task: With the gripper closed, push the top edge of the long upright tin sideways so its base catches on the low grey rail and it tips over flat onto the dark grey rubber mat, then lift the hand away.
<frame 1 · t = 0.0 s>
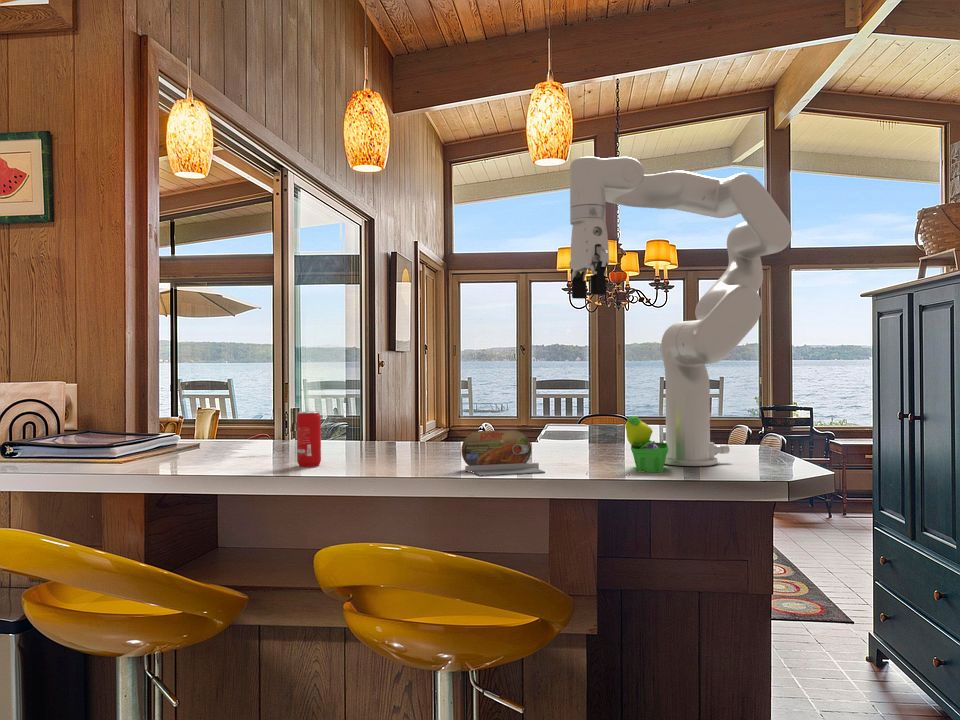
hand: (588, 296, 165), 37 cm above the worktop, tool pointing down, fingers open, 9 cm apart
tin: (496, 470, 165), on the worktop
beverage can: (309, 466, 172), on the worktop
mat: (507, 472, 160), on the worktop
fruit basket: (646, 470, 164), on the worktop
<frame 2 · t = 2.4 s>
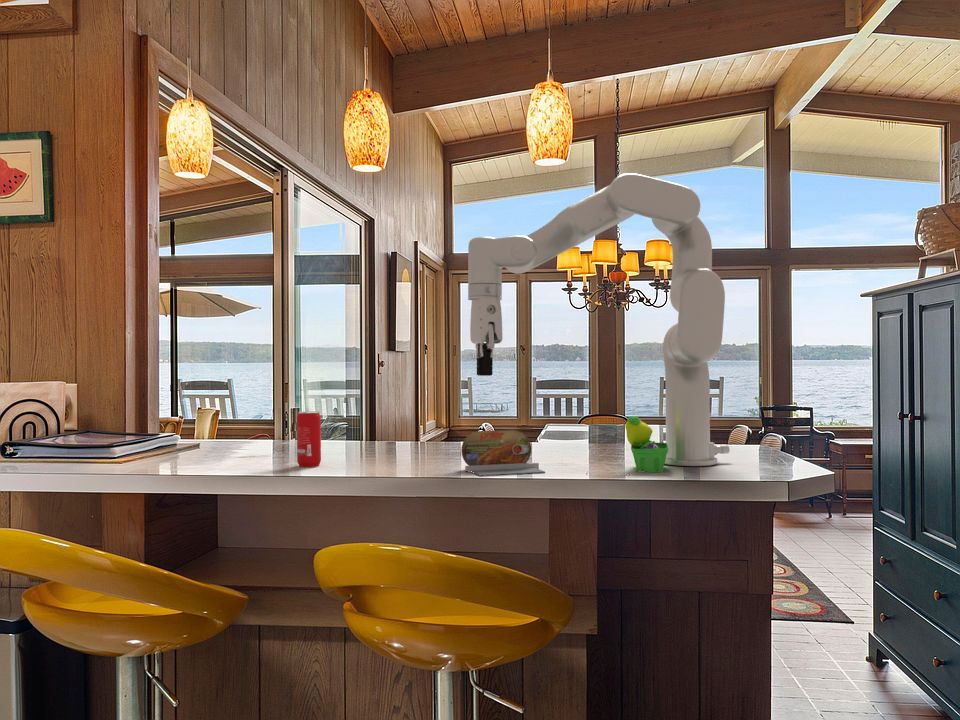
hand: (484, 375, 172), 20 cm above the worktop, tool pointing down, fingers closed
nothing on the worktop moved.
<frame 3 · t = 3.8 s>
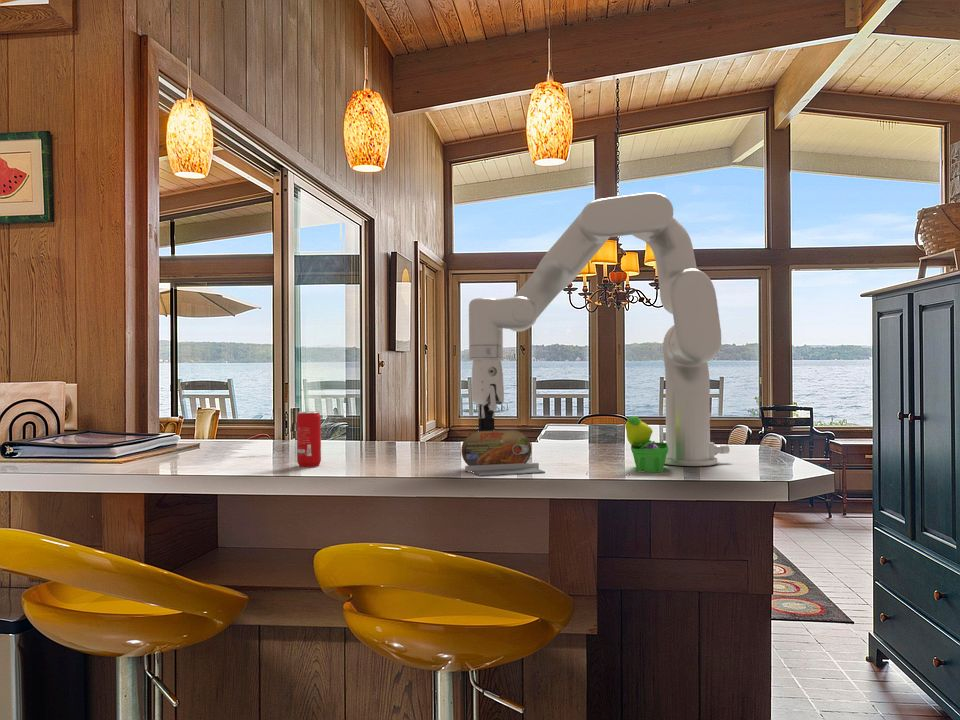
hand: (486, 435, 172), 6 cm above the worktop, tool pointing down, fingers closed
nothing on the worktop moved.
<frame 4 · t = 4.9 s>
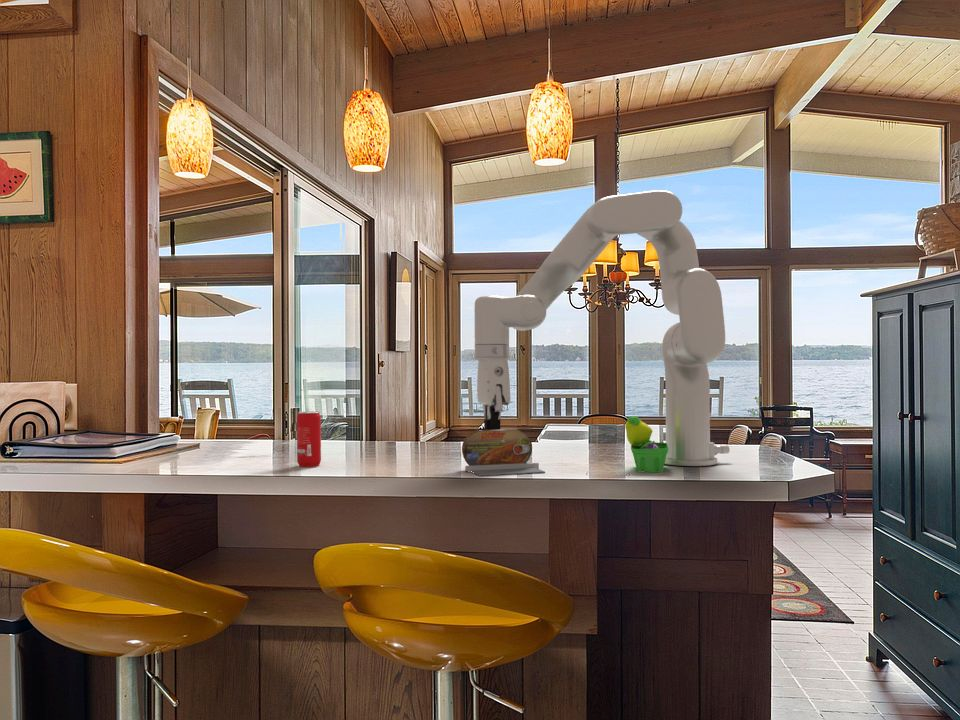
hand: (492, 437, 168), 6 cm above the worktop, tool pointing down, fingers closed
tin: (496, 468, 165), on the worktop, touching gripper
everything else where it was.
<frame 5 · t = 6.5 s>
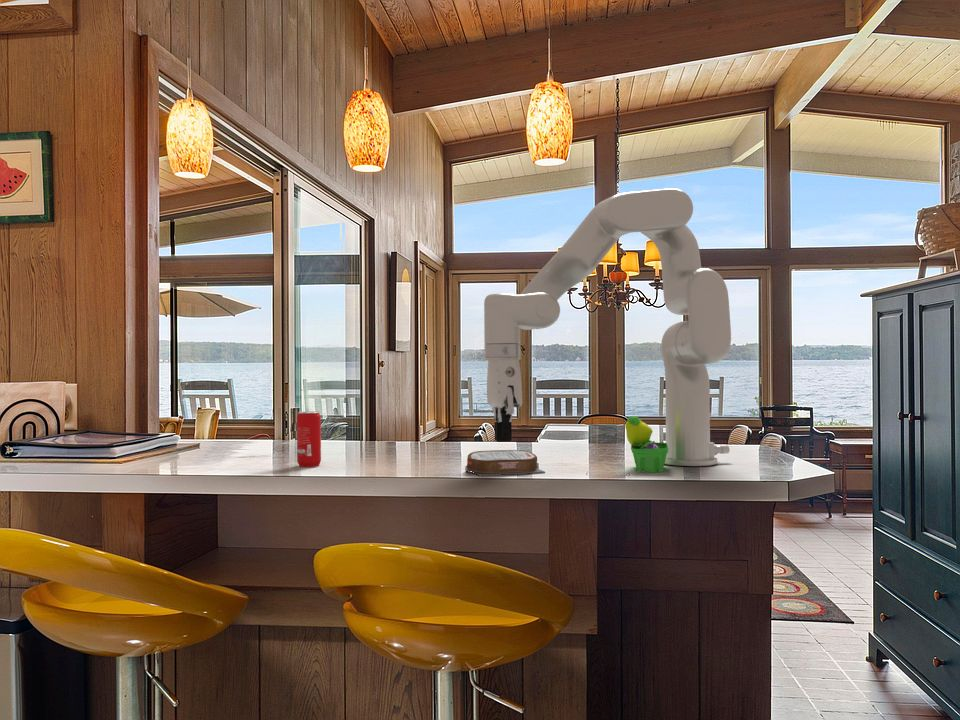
hand: (503, 441, 161), 6 cm above the worktop, tool pointing down, fingers closed
tin: (496, 454, 165), point 3 cm above the worktop, touching mat
everything else where it was.
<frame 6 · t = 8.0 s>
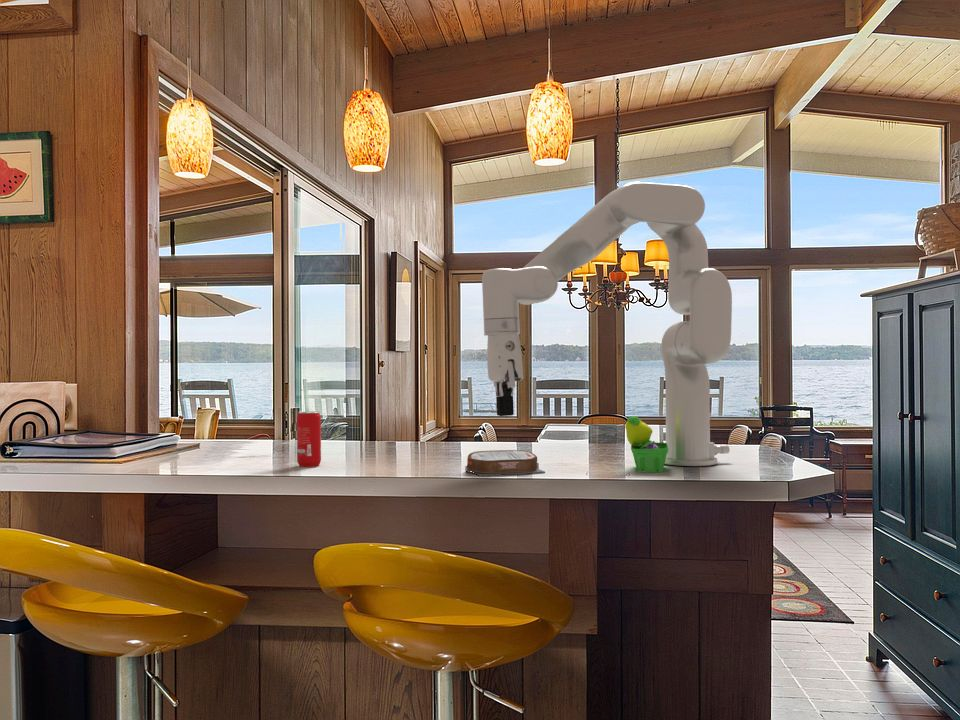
hand: (505, 415, 162), 12 cm above the worktop, tool pointing down, fingers closed
nothing on the worktop moved.
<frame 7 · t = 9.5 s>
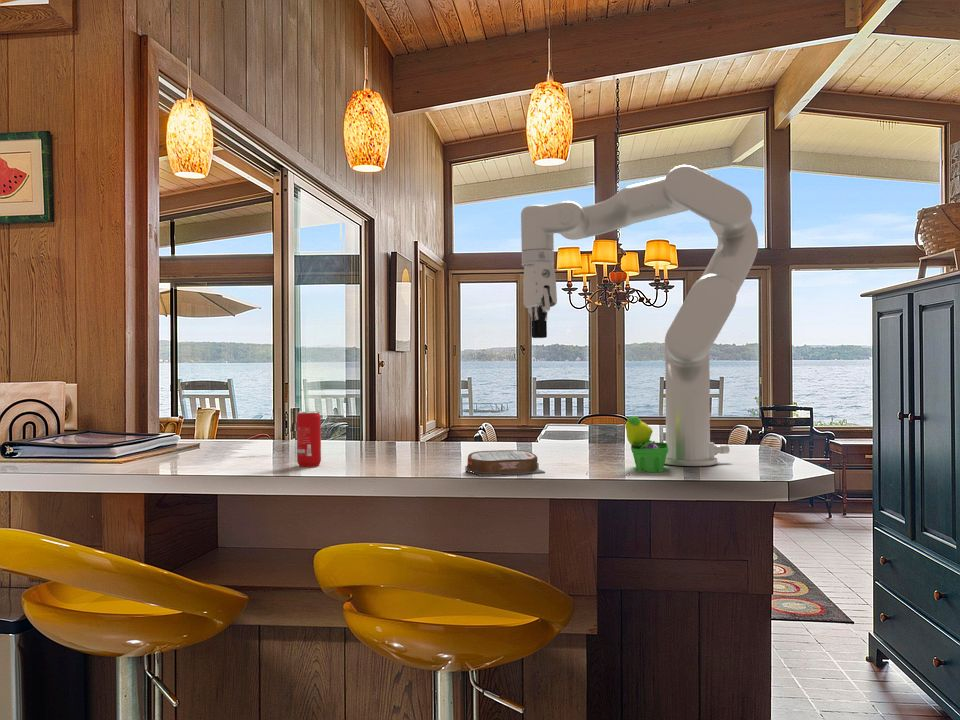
hand: (539, 337, 180), 28 cm above the worktop, tool pointing down, fingers closed
nothing on the worktop moved.
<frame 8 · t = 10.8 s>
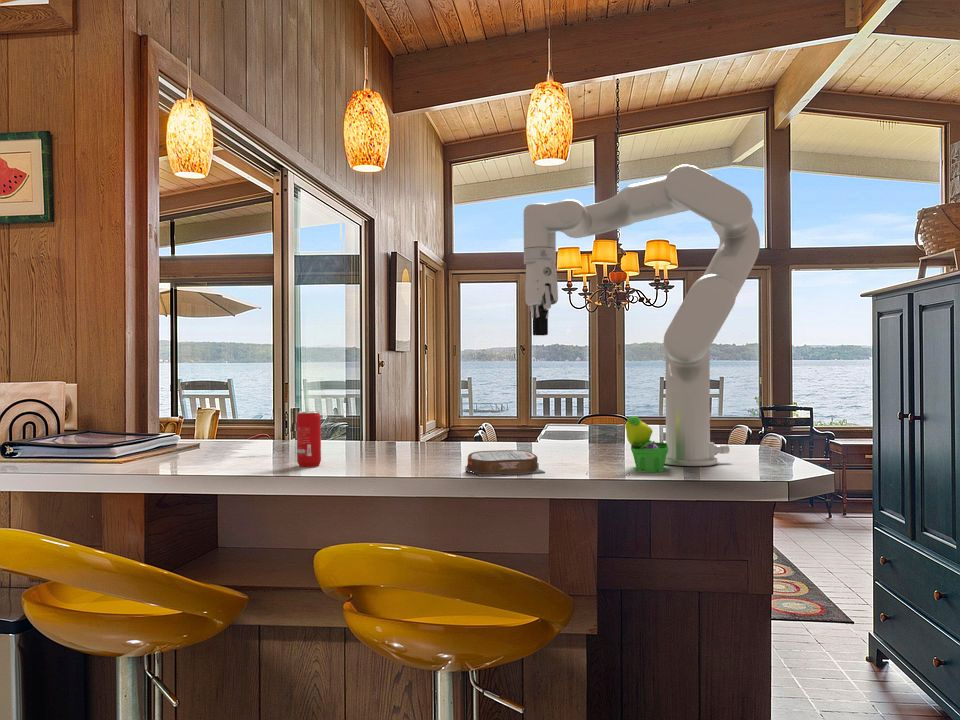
hand: (540, 335, 181), 29 cm above the worktop, tool pointing down, fingers closed
nothing on the worktop moved.
at the end: tin tilted 103°; tin inside the target area (4.2 cm from its centre), point 3.1 cm above the worktop; the gripper is holding nothing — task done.
